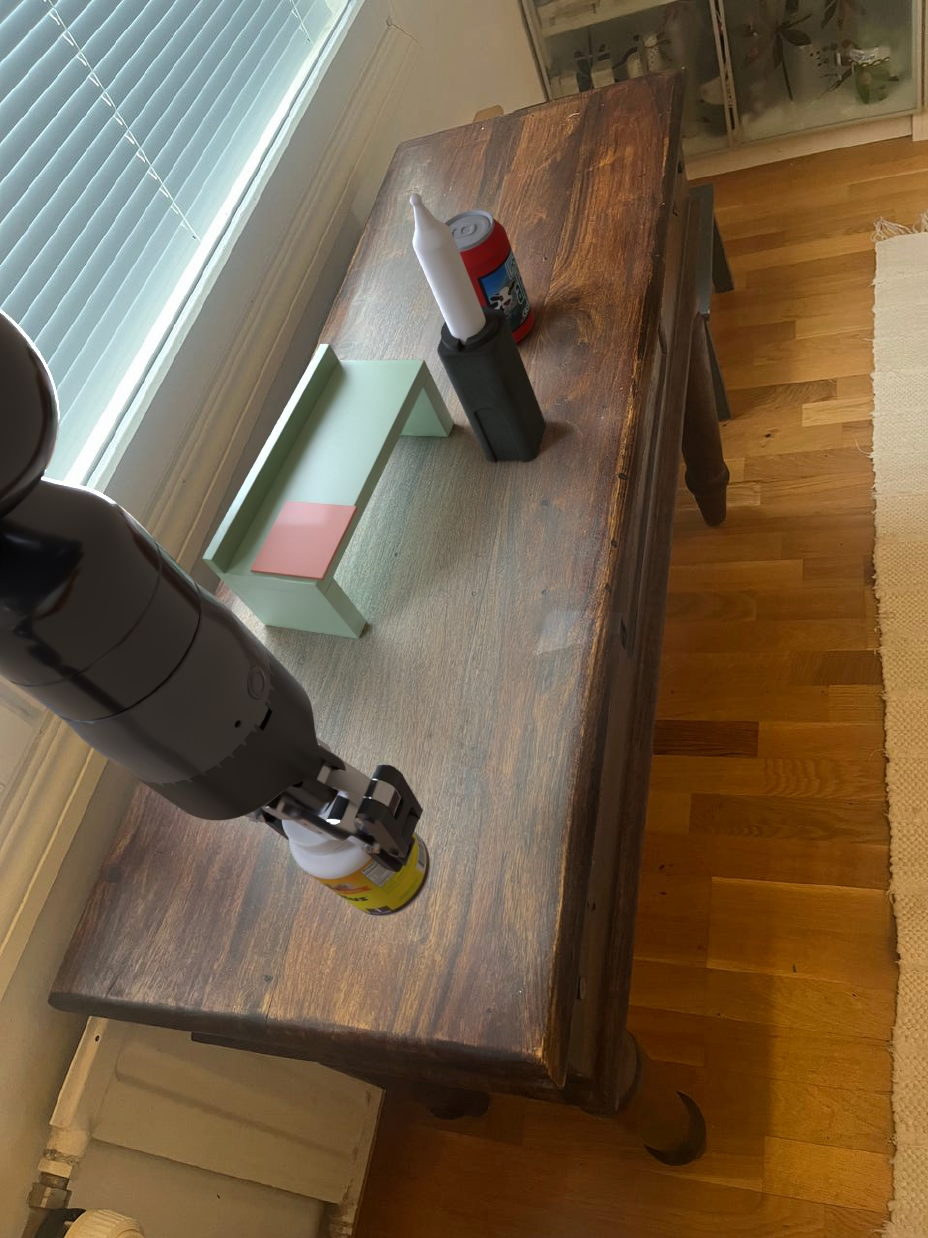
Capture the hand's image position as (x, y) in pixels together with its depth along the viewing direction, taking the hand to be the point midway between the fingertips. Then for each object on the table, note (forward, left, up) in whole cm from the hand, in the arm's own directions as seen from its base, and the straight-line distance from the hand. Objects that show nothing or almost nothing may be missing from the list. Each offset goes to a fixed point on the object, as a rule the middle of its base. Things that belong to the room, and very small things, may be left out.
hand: (353, 841), depth 51 cm
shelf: (+31, +20, -14) cm, 39 cm away
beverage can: (+55, +14, -14) cm, 59 cm away
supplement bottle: (0, 0, -6) cm, 6 cm away
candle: (+41, +8, -14) cm, 44 cm away
